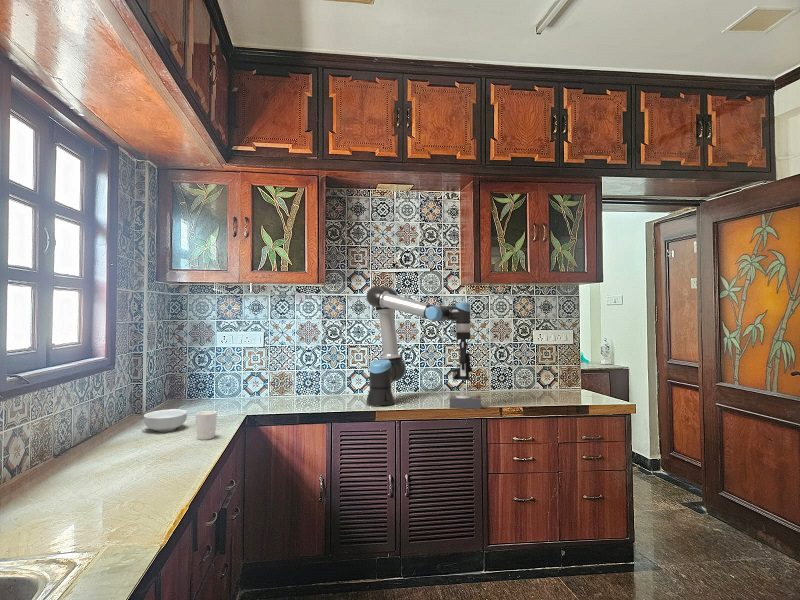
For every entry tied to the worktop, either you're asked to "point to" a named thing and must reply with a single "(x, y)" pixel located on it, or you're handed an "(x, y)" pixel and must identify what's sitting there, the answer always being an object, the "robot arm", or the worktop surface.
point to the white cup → (206, 424)
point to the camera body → (465, 402)
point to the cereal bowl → (165, 419)
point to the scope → (468, 369)
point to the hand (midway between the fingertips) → (463, 374)
